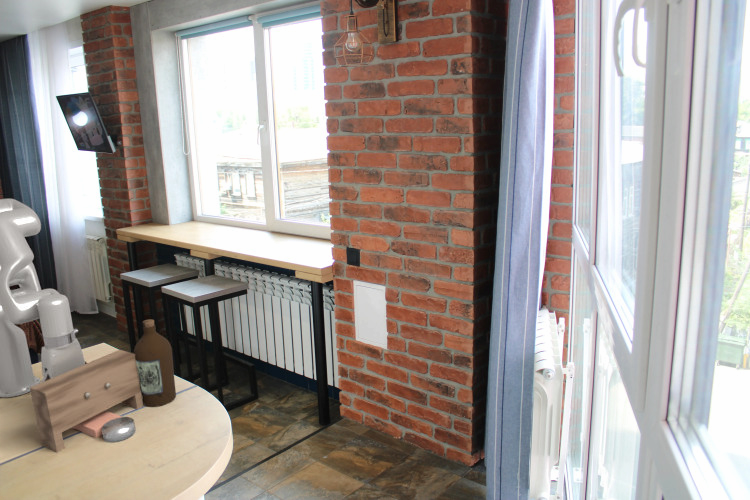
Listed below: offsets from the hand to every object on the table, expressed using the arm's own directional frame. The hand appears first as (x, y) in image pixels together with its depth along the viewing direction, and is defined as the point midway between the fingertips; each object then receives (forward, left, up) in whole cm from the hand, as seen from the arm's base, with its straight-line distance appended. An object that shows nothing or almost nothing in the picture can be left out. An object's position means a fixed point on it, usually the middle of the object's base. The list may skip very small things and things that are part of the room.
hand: (70, 397), depth 163 cm
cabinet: (+10, 0, -6) cm, 12 cm away
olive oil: (+15, +18, -6) cm, 24 cm away
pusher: (+7, 0, -6) cm, 9 cm away
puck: (+21, 0, -6) cm, 22 cm away
